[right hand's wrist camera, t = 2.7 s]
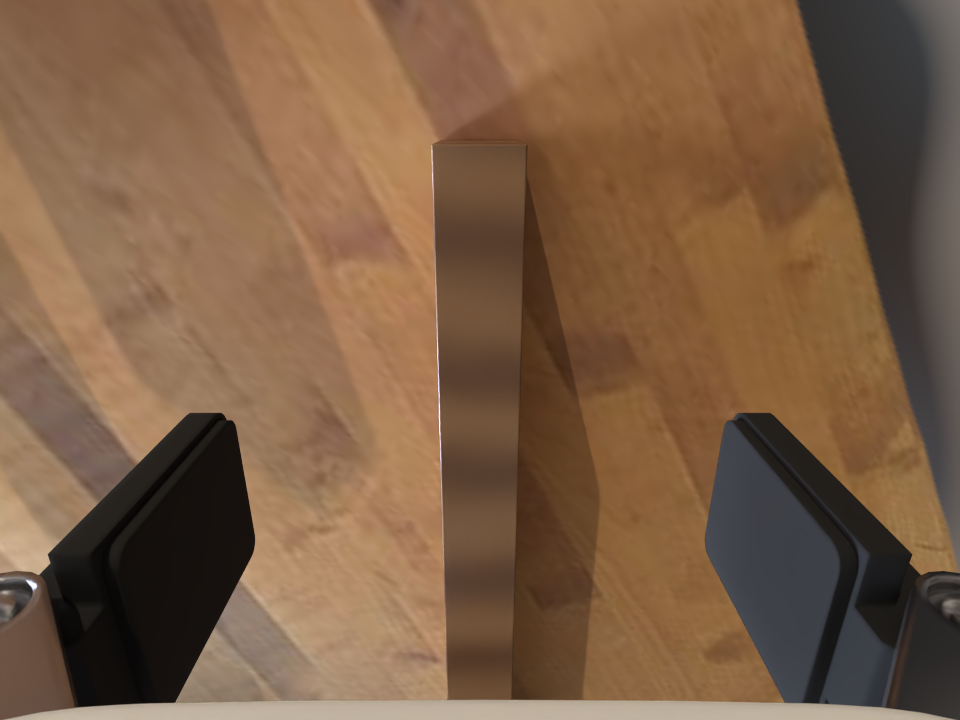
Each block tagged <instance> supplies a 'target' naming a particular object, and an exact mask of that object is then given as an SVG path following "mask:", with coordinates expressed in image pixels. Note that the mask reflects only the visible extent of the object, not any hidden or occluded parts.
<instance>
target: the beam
mask: <svg viewBox="0 0 960 720" xmlns="http://www.w3.org/2000/svg"><path fill="white" fill-rule="evenodd" d="M431 151H432V186H433V220H434V255H435V290H436V324H437V359H438V393H439V428H440V463H441V497H442V532H443V566H444V601H445V636H446V670H447V700H512V671H513V635H514V600H515V564H516V528H517V493H518V457H519V421H520V386H521V350H522V314H523V279H524V243H525V207H526V172H527V145H526V144H524V143H522V142H520V141H518V140H441V141H438V142H436V143H434V144H432V146H431Z"/></svg>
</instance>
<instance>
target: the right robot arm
mask: <svg viewBox="0 0 960 720" xmlns="http://www.w3.org/2000/svg"><path fill="white" fill-rule="evenodd" d="M254 546H255V534H254V528H253V522H252V516H251V511H250V505H249V499H248V493H247V488H246V482H245V476H244V470H243V465H242V459H241V453H240V447H239V442H238V436H237V430H236V426H235V424H234V422H233V421H232V420H226V418H225V416H224V415H223V414H222V413H189V414H188V415H186V416H185V417H184V418H183V419H182V420H181V421H180V422H179V423H178V424H177V425H176V426H175V427H174V428H173V429H172V430H171V431H170V432H169V433H168V434H167V435H166V436H165V437H164V438H163V439H162V440H161V441H160V442H159V443H158V444H157V445H156V446H155V447H154V448H153V449H152V450H151V451H150V452H149V454H148V455H147V456H146V457H145V458H144V459H143V460H142V461H141V462H140V463H139V464H138V465H137V466H136V467H135V468H134V469H133V470H132V471H131V472H130V473H129V474H128V475H127V476H126V477H125V478H124V479H123V480H122V481H121V482H120V483H119V484H118V485H117V486H116V487H115V488H114V489H113V490H112V491H111V492H110V493H109V494H108V495H107V496H106V497H105V498H104V499H103V500H102V501H101V502H100V503H99V504H98V505H97V506H96V507H95V508H94V509H93V510H92V511H91V512H90V513H89V514H88V515H87V516H86V517H85V518H84V519H83V520H82V521H81V522H80V523H79V524H78V525H77V526H76V527H75V528H74V529H73V530H72V531H71V532H70V533H69V534H68V535H67V536H66V537H65V538H64V539H63V540H62V541H61V542H60V543H59V544H58V545H57V546H56V547H55V548H54V549H53V550H52V551H51V552H50V553H49V554H48V556H49V559H50V562H51V563H50V565H49V566H48V567H47V568H46V569H45V570H44V571H43V572H42V573H41V574H40V575H37V574H35V573H32V572H22V571H14V572H7V573H0V720H960V573H953V572H946V571H938V572H928V573H925V574H923V575H920V574H919V573H918V572H917V571H916V570H915V569H914V568H913V567H912V566H911V565H910V564H909V562H910V559H911V556H912V554H911V553H910V552H909V551H908V550H907V549H906V548H905V547H904V546H903V545H902V544H901V543H900V542H899V541H898V540H897V539H896V538H895V537H894V536H893V535H892V534H891V533H890V532H889V531H888V530H887V529H886V528H885V527H884V526H883V525H882V524H881V523H880V522H879V521H878V520H877V519H876V518H875V517H874V516H873V515H872V514H871V513H870V512H869V511H868V510H867V509H866V508H865V507H864V506H863V505H862V504H861V503H860V502H859V501H858V500H857V499H856V498H855V497H854V496H853V495H852V494H851V493H850V492H849V491H848V490H847V489H846V488H845V487H844V486H843V485H842V484H841V483H840V482H839V481H838V480H837V479H836V478H835V477H834V476H833V475H832V474H831V473H830V472H829V471H828V470H827V469H826V468H825V467H824V466H823V465H822V464H821V463H820V462H819V461H818V460H817V459H816V458H815V457H814V456H813V455H812V454H811V453H810V451H809V450H808V449H807V448H806V447H805V446H804V445H803V444H802V443H801V442H800V441H799V440H798V439H797V438H796V437H795V436H794V435H793V434H792V433H791V432H790V431H789V430H788V429H787V428H786V427H785V426H784V425H783V424H782V423H781V422H780V421H779V420H778V419H777V418H776V417H775V416H774V415H772V414H771V413H738V414H737V415H736V416H735V418H734V420H728V421H727V422H726V424H725V426H724V430H723V436H722V442H721V447H720V453H719V459H718V465H717V470H716V476H715V482H714V488H713V493H712V499H711V505H710V511H709V516H708V522H707V528H706V534H705V546H706V551H707V554H708V557H709V559H710V561H711V562H712V564H713V566H714V568H715V570H716V572H717V574H718V576H719V578H720V580H721V582H722V583H723V585H724V587H725V589H726V591H727V593H728V595H729V597H730V599H731V601H732V602H733V604H734V606H735V608H736V610H737V612H738V614H739V616H740V618H741V620H742V622H743V623H744V625H745V627H746V629H747V631H748V633H749V635H750V637H751V639H752V641H753V642H754V644H755V646H756V648H757V650H758V652H759V654H760V656H761V658H762V660H763V662H764V663H765V665H766V667H767V669H768V671H769V673H770V675H771V677H772V679H773V681H774V682H775V684H776V686H777V688H778V690H779V692H780V694H781V696H782V698H783V700H784V702H785V703H761V702H711V701H626V700H334V701H249V702H199V703H175V702H176V700H177V698H178V696H179V694H180V692H181V690H182V688H183V686H184V684H185V682H186V681H187V679H188V677H189V675H190V673H191V671H192V669H193V667H194V665H195V663H196V662H197V660H198V658H199V656H200V654H201V652H202V650H203V648H204V646H205V644H206V642H207V641H208V639H209V637H210V635H211V633H212V631H213V629H214V627H215V625H216V623H217V622H218V620H219V618H220V616H221V614H222V612H223V610H224V608H225V606H226V604H227V602H228V601H229V599H230V597H231V595H232V593H233V591H234V589H235V587H236V585H237V583H238V582H239V580H240V578H241V576H242V574H243V572H244V570H245V568H246V566H247V564H248V562H249V561H250V559H251V557H252V554H253V551H254Z"/></svg>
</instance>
